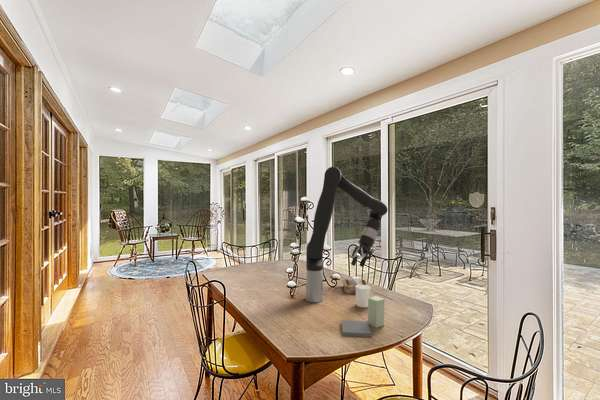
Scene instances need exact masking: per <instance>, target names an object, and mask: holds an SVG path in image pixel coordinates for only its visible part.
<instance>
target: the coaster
mask: <svg viewBox="0 0 600 400" xmlns="http://www.w3.org/2000/svg"><path fill="white" fill-rule="evenodd" d="M340 324H341V326H340V327H341V332H342V336H343V337H368V338H370V337H371V338H372V337H373V333H372V330H371V327H370V325H369V324H368V320H344V319H342V320H340Z"/></svg>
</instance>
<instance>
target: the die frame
mask: <svg viewBox="0 0 600 400" xmlns="http://www.w3.org/2000/svg"><path fill="white" fill-rule="evenodd" d="M351 279H352V278H343V279H342V281H343V283H342V284H343V290H344V294H349V295H351V294H352V295H353V294H354V295H356V286H350V285H349V282H348V281H349V280H351ZM361 281H362V284H363V285H368V286H369V284H368V282H367V280H366V279H361Z"/></svg>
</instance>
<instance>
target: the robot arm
mask: <svg viewBox="0 0 600 400" xmlns="http://www.w3.org/2000/svg"><path fill="white" fill-rule="evenodd" d="M323 176H324V178H323V184H322V189H321V190H322V191H321V193H320V196H319V198H318V201H317V205H316V208H315V212H314V213H315V214H314V217H313V227H312V234H311V237H310V240H309V242H308V243H307V244H306V249H305V250H306V252H305V253H306V256H305V257H306V259H305V260H306V269H305V270H306V272H305V273H306V280H305V281H306V283H305V302H309V303H321V302H322V301H323V300H324V299H323V298H324V297H323V296H324V294H323V293H324V289H323V288H324V284H323V283H324V277H323V276H324V260H323V257H324V254H323V253H324V247H325V241H326V235H327V231H328V229H329V226H330V224H331V220H332V216H333V214H334V213H333V212H334V208H335V200H336V199H335V198H336V197H335V196H336V192H337V188H339V189H340V190H342V191H343V192H344V193H346V194H347V195H348V196H349V197H350V198H352V199H353V200H354V201H355V202H356V203H358V204H359V205H361V206H362V207H363V208H367V209H370V212H369V215H368V219H367V222H366V224H365V226H364V229H363V230H362V232H361V235H360V237H359V240H358V244H359V246H355V247H354V249H353V251H352V253H351V257H352V260H351V262H350V265H352V266H354V267H355V266H356V264H357V262H358V259H359V258H361V260H360V263H359V266H360V267H362V268H364V267H365V265H366V262H367V261H368V260H371V257H372V254H373V253H374V252H373V251H374V248H373V247H374V243H375V241H376V239H377V237H378V236H377V235H378V234H379V233H378V232H379V230H380V228H381V220H382V218H383V217H384V216H385V215H386V214H387V212H388V207H387V205H386V204H385V202H383V201H381V200H380V199H377V198H375V197H373V196H371V195H370V194H369V193H368V192H366V191H364V190H363V189H362V188H360V187H359V186H357V185H356V184H354V183H353V182H351V181H350V180H348V179H347V178H346V177H345V176H344V175H343V174H342V172H341V170H340V168H338V167H336V166H330V167H328V168H327V169H326V170H325V172H324V175H323Z"/></svg>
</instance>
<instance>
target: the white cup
mask: <svg viewBox="0 0 600 400" xmlns="http://www.w3.org/2000/svg"><path fill="white" fill-rule="evenodd" d="M371 290H372V289H371V286H370V285H369V284H368V285H356V294H355V300H356V302H355V303H356V306H357V307H359V308H368V298H370V297H371Z"/></svg>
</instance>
